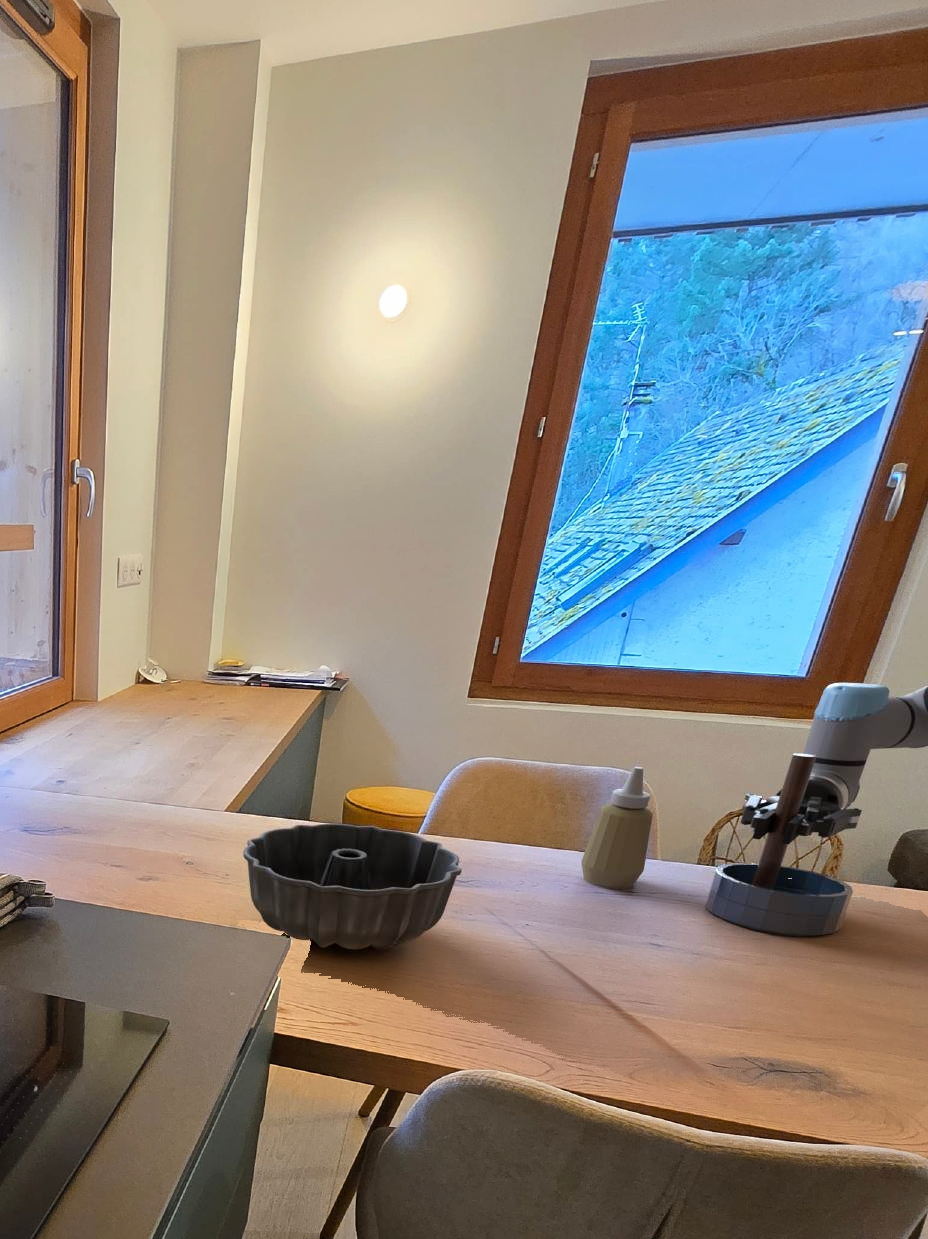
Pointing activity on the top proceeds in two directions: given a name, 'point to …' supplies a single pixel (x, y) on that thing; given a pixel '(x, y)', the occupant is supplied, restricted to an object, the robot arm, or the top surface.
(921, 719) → the robot arm
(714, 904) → the bowl
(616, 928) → the top surface
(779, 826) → the stirring stick
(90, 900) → the top surface
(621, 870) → the squeeze bottle
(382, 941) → the bundt pan
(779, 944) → the top surface
